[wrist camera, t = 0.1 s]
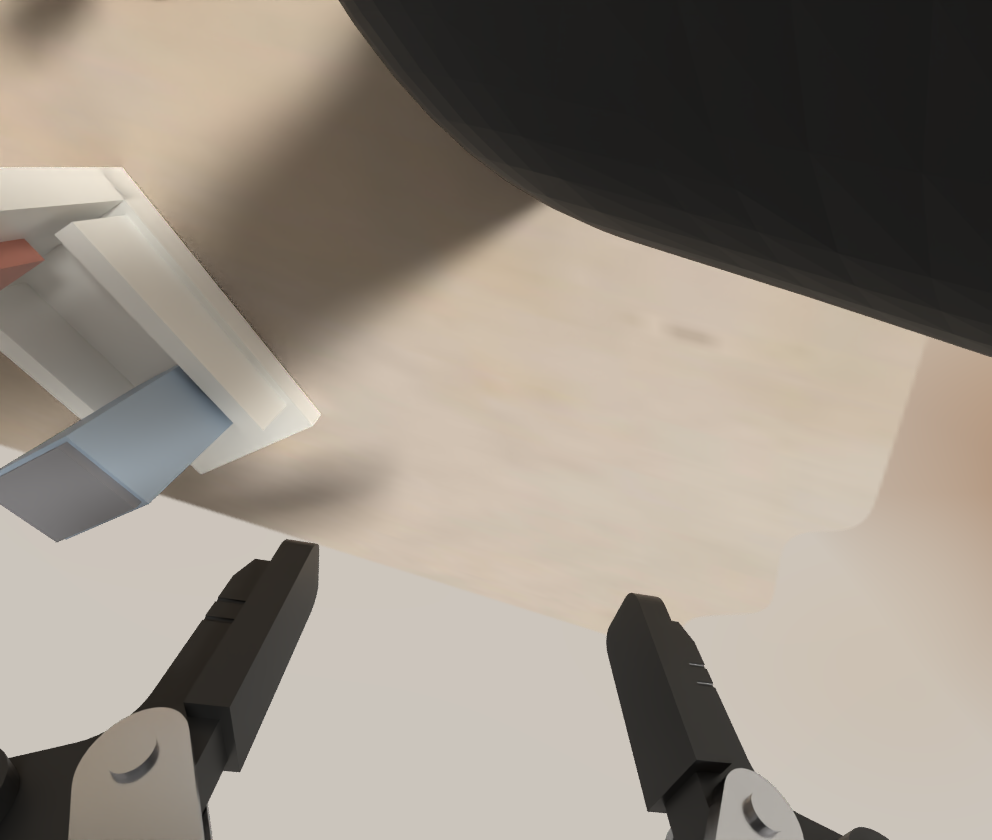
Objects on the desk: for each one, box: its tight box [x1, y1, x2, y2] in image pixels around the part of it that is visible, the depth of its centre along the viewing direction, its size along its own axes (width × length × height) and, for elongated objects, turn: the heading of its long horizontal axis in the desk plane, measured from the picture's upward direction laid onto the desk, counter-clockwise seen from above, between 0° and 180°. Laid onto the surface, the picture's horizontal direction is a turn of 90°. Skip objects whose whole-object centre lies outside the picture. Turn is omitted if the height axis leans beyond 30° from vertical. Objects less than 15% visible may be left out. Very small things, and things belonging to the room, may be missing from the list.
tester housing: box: [0, 167, 321, 475], centre depth 21 cm, size 16×10×10 cm, turn 25°
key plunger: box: [0, 365, 233, 542], centre depth 21 cm, size 4×6×9 cm
